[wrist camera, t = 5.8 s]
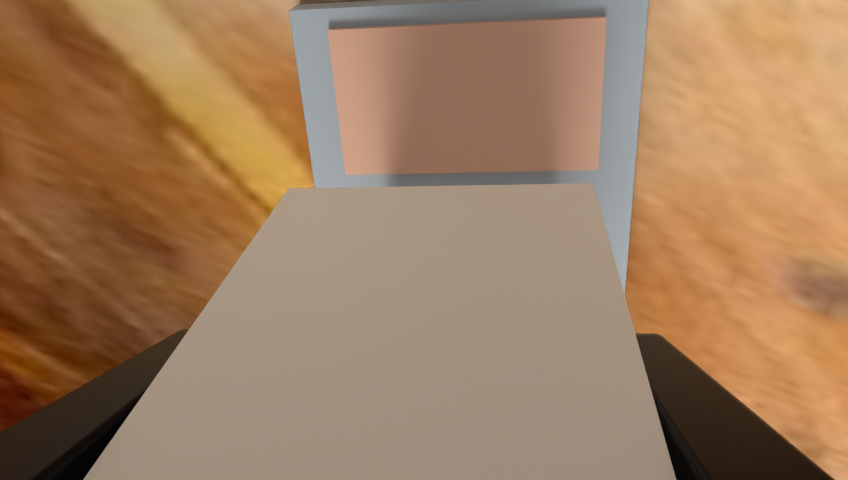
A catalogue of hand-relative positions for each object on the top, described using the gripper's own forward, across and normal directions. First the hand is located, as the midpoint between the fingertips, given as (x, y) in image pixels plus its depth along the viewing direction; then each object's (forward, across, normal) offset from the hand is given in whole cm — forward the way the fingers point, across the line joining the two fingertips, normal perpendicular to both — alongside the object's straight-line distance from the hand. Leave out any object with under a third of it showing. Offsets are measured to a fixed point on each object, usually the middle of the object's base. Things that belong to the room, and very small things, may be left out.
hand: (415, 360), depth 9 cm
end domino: (+4, 0, 0) cm, 4 cm away
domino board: (+12, 0, +9) cm, 15 cm away
